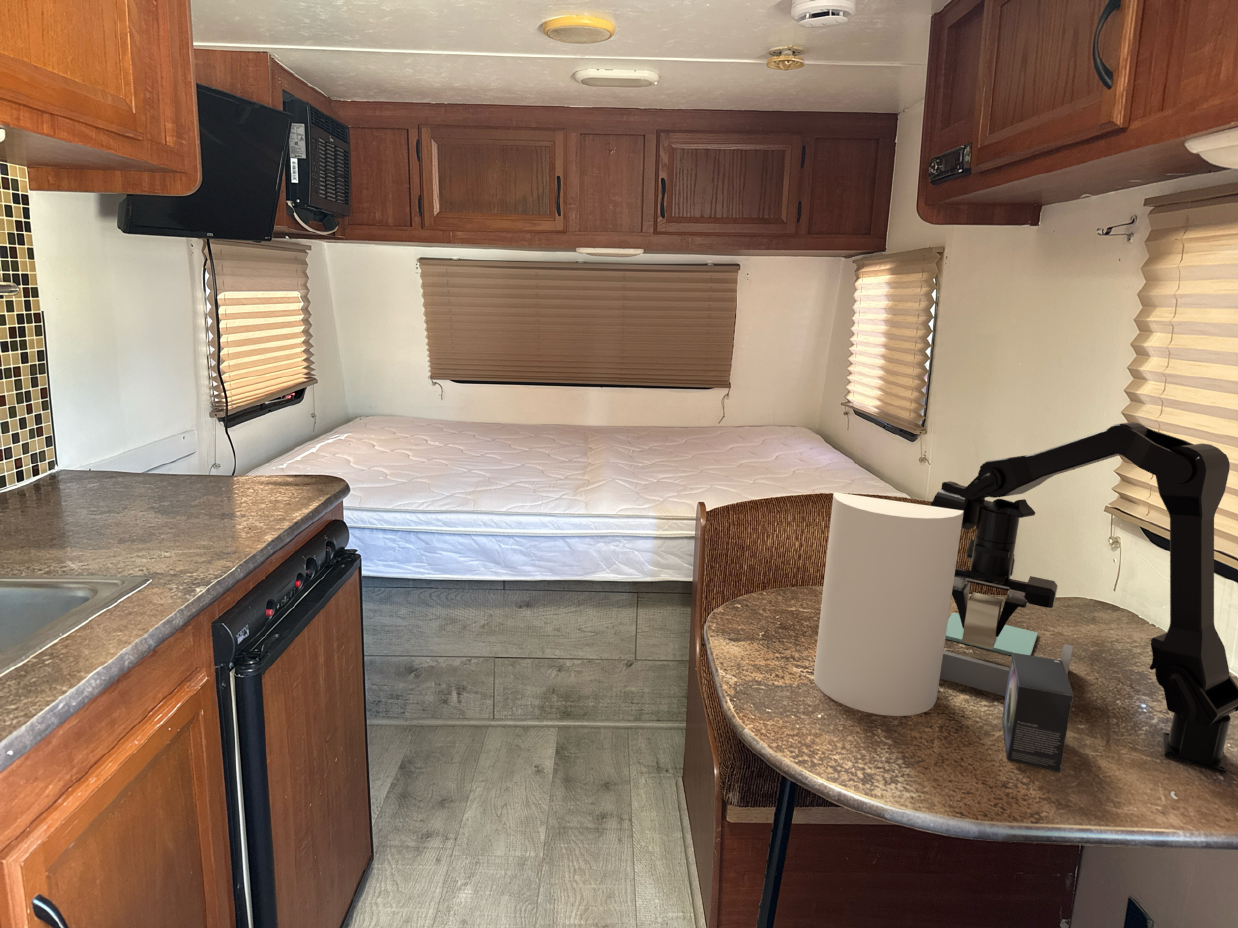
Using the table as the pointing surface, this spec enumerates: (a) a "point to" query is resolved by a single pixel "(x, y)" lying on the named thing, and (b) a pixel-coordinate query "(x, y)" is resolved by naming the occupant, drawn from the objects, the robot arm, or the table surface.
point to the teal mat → (1006, 641)
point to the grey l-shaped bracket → (984, 671)
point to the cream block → (982, 620)
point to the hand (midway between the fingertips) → (980, 631)
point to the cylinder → (886, 603)
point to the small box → (1036, 711)
